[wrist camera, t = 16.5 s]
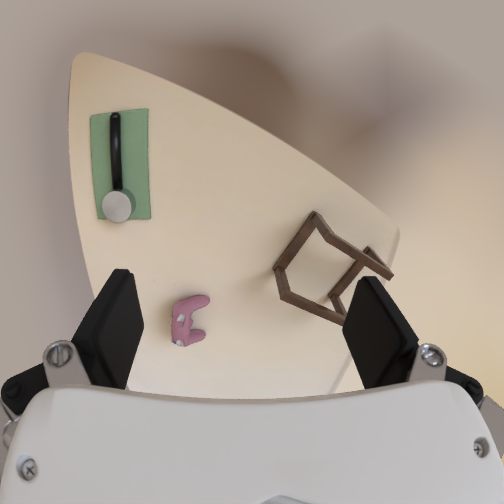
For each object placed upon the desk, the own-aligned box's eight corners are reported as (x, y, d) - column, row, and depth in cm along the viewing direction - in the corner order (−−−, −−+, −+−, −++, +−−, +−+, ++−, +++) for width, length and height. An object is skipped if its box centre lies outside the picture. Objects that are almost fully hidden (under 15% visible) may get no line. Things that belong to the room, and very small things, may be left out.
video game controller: (190, 285, 46) (165, 305, 40) (212, 296, 45) (189, 318, 39) (187, 326, 51) (165, 347, 45) (207, 336, 49) (187, 359, 43)
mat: (91, 115, 30) (90, 115, 30) (148, 108, 31) (147, 108, 30) (99, 217, 38) (97, 219, 37) (151, 218, 38) (150, 219, 38)
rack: (313, 210, 39) (329, 232, 32) (373, 250, 43) (395, 275, 36) (272, 268, 44) (279, 299, 36) (334, 298, 47) (347, 328, 40)
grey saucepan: (102, 113, 30) (96, 114, 28) (133, 110, 30) (127, 110, 29) (109, 218, 37) (104, 223, 36) (137, 218, 38) (133, 223, 36)
